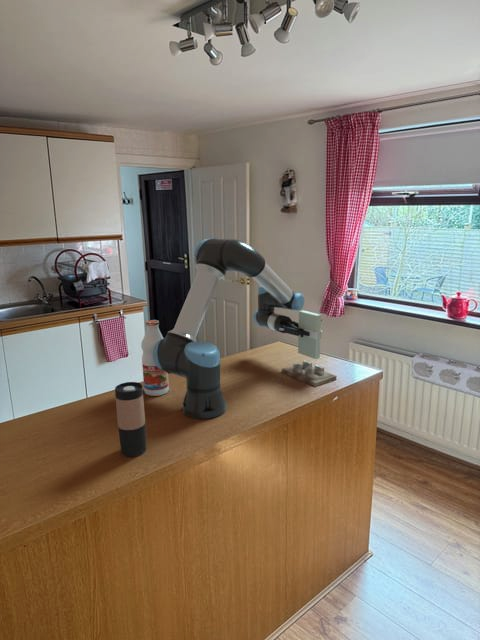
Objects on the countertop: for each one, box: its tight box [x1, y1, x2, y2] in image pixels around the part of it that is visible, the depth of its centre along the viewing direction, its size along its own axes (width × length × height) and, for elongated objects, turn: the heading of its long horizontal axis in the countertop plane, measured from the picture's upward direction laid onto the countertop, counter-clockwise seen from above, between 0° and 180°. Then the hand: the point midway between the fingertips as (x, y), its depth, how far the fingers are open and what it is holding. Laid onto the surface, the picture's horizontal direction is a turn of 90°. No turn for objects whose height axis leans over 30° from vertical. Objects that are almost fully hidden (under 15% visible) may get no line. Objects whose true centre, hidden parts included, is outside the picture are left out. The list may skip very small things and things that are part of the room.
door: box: [297, 309, 323, 360], centre depth 178 cm, size 11×4×18 cm, turn 36°
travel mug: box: [114, 381, 147, 458], centre depth 125 cm, size 8×8×20 cm
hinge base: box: [281, 360, 337, 387], centre depth 181 cm, size 20×12×4 cm, turn 36°
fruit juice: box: [140, 319, 170, 397], centre depth 165 cm, size 9×9×28 cm
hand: (319, 335), depth 173 cm, fingers closed on door, 2 cm apart
